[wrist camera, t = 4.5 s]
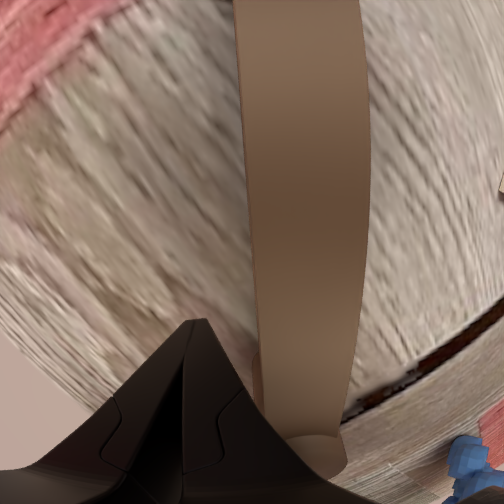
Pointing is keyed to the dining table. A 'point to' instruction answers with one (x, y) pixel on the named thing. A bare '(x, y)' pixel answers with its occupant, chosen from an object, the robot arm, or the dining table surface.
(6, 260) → the dining table surface
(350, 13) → the gate
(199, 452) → the robot arm
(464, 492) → the grapes
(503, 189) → the open pad
